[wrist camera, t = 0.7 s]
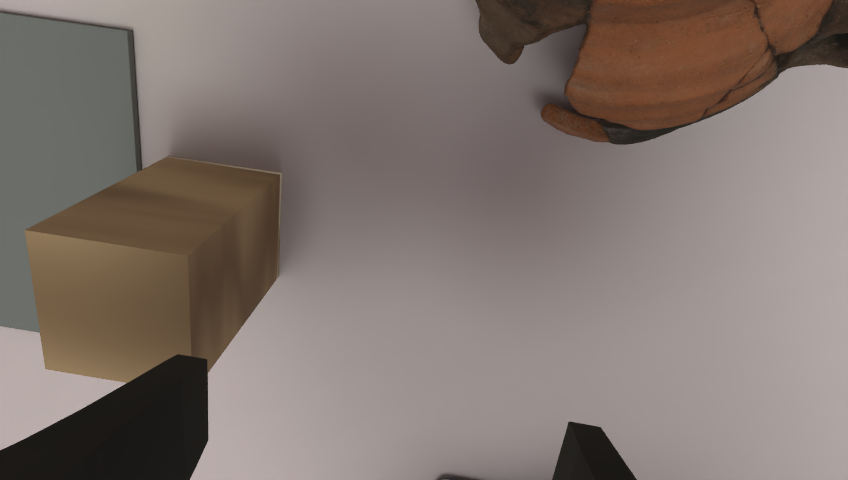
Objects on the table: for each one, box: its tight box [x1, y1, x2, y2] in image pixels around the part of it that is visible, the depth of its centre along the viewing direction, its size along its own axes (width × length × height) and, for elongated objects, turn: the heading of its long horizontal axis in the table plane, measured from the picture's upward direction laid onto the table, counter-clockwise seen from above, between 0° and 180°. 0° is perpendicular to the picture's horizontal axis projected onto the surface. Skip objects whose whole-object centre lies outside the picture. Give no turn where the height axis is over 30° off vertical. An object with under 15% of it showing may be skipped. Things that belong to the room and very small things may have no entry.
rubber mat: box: [0, 12, 141, 332], centre depth 21 cm, size 12×9×1 cm
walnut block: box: [25, 156, 282, 383], centre depth 18 cm, size 4×4×7 cm
